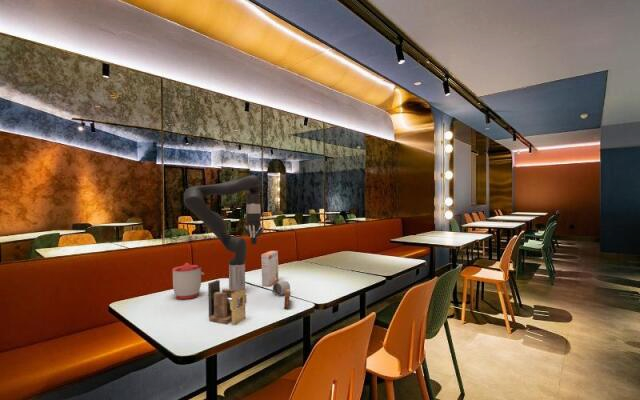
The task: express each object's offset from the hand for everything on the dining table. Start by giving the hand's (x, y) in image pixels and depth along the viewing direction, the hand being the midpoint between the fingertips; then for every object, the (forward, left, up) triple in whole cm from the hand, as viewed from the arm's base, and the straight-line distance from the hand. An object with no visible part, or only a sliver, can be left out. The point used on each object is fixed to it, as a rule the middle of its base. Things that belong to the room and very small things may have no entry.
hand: (254, 244), depth 169 cm
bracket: (+7, -22, -32) cm, 39 cm away
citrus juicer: (-40, -18, -32) cm, 54 cm away
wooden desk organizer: (+8, -22, -31) cm, 39 cm away
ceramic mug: (-3, +20, -32) cm, 38 cm away
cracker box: (-25, +30, -32) cm, 51 cm away
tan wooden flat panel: (+15, -19, -32) cm, 40 cm away
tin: (+15, +10, -32) cm, 37 cm away
